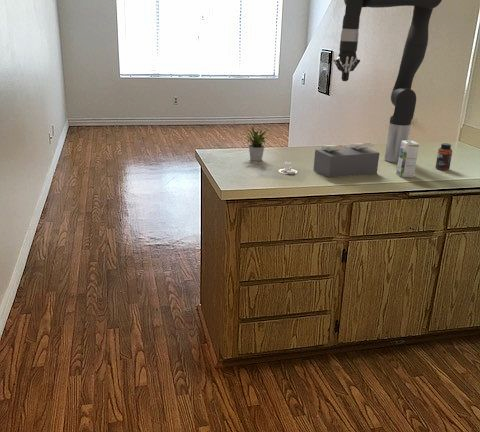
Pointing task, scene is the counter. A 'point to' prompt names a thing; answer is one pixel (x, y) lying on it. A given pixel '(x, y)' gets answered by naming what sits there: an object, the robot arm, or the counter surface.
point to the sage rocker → (333, 147)
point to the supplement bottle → (444, 157)
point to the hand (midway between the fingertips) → (344, 81)
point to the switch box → (346, 162)
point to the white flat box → (362, 145)
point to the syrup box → (407, 158)
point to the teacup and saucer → (288, 168)
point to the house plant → (256, 144)
